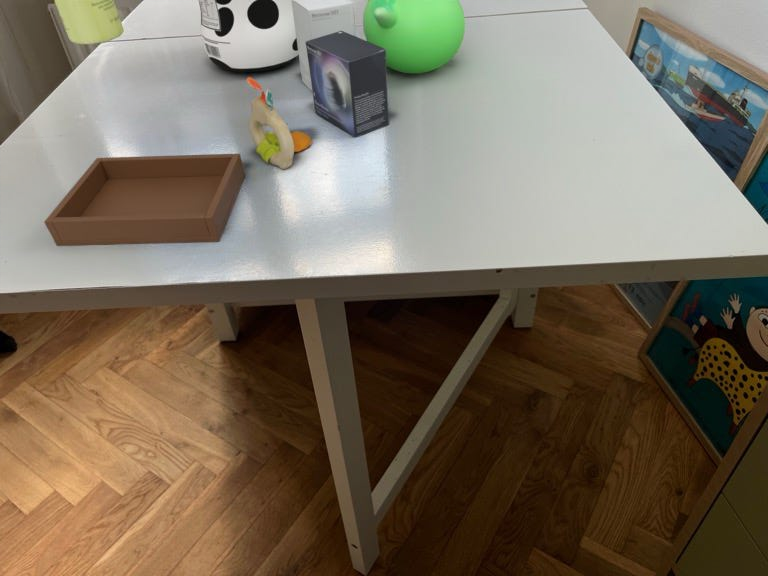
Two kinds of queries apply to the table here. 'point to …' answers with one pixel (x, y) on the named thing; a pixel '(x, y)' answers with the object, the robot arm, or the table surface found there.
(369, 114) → the small box
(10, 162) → the table surface
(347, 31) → the white packaging box
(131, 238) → the tray
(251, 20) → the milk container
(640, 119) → the table surface
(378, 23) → the toy bird
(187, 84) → the table surface
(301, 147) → the rattle
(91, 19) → the tube
